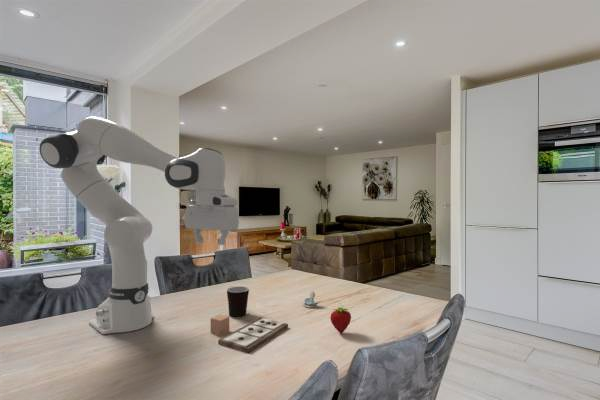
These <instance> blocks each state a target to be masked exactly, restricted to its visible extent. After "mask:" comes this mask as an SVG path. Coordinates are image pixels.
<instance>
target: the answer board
mask: <svg viewBox="0 0 600 400" xmlns="http://www.w3.org/2000/svg"><path fill="white" fill-rule="evenodd" d="M288 328H289V324H288V323H286V322H282V321H278V320H273V319H269V318H264V317H259V318H257V319H255V320H253V321H252V322H250V323H248V324H246V325H244V326H242V327H240V328H238V329H237V330H235V331H233V332H231V333H228V334H226V335H225V336H223V337H221V338H219V339H218V345H220V346H221V345H222V346H224V347H228V348H231V349H235V350H237V351H241V352H244V353H246V354H249V353H251V352H253V351H255V350H256V349H257V348H258V347H259V348H260V346H263V344H265V343H266V342H268V341H270V340H271V339H272V338H274V337H275V336H277V335H279V334H280V333H282V332H283V331H285V330H287V329H288Z"/></svg>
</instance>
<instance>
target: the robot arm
mask: <svg viewBox="0 0 600 400" xmlns="http://www.w3.org/2000/svg"><path fill="white" fill-rule="evenodd" d="M39 154H40V156H41V159H42V160H43V162H45V163H46V165H48V166H49V167H51V168H53V169H62V170H61V173H60V176H61V179H62V181H63V183H64V184H65V187H67V189H68V190H69V192H70V194H72V195H73V196H74V198H75V199H76V200H77V201H78V202H79V203H80V204H81V205H82V207H84V208H85V209H86V210H87V212H88V213H89V214H90V215H91V216H92V217H93V218H95V219H96V220H98V221H100V222H102V223H103V224H104V225H106V227H105V228H104V230H103V231H104V232H103V238H104V241H105V242H106V244H107V246H108V250H109V251H108V252H109V255H110V260H111V271H112V273H111V277H112V278H111V284H112V285H111V286H109V287H108V289H107V290H108V291H109V292H108V297H107V298H106V299H105V300H104V301H103V302H102V303H101V304H99V305H98V306H97V309H96V312H95V316H96V317H94V318H92V319H90V320H89V321H88V324H89V325H90V326H91V327H92V328H94V329H95V330H96V331H97V332H99V333H100V334H102V335H106V334H107V335H108V334H117V333H128V332H134V331H137V330H141V329H143V328H145V327H148V326H149V325H150V324H151V323H152V319H154V318H155V315H154V313H152V303H151V301H152V300H151V297H150V295H148V294H149V289H150V287H149V283H148V261H147V258H146V253H145V248H144V242H147V241H148V239H150V237H151V235H152V233H153V224H152V223H151V221H150V220H149V219H148V218H147V217H145V216H144V215H143V214H142V213H141V212H140V211H139V210H138V209H136V207H134V206H133V205H132V204H131V203H129V202H128V201H127V200H126V199H125V198H124V197H123V196H122V195H121V194H120V193H119V192H118V191H117V190H116V189H115V187H114V186H112V185H111V184H110V182H109V181H108V180H107V179H106V178H105V177H104V175H102V174H101V173H100V171H99V170H98V167H97V165H102V164H103V163H104V162H105V160H106V158H109V159H111V160H115V161H119V162H121V163H127V164H133V165H138V166H145V167H151V168H154V169H157V170H159V171H161V172H164V178H165V180H166V182H167V183H168V185H170V186H171V187H173V188H175V189H177V190H178V189H180V190H186V191H187V190H188V191H191V192H192V191H193V192H195V199H190V200H189V201H188V202H187V204H186V208H185V212H184V213H185V214H184V226H185V228H187V229H192V232H193V235H194V237H195V243H196V244H197V243H198V244H202V243H203V242H204V236H202V235H201V232H202V230H211V231H212V230H215V231H216V230H217V231H219V233H220V237H219V238H218V239H217V245H218V246H219V245H220V246H224V245H226V239H227V237H228V234H229V231H230V232H231V231H236V230H237V229H238V227H239V210H238V208H237V206H238V203H239V202H238V199H237V198H236V197H233V196H231V195H228V194H227V193H226V189H225V188H226V187H225V185H224V184H225V179H226V164H225V162H226V161H225V157H224V155H223V153H222V152H221V151H219V150H217V149H213V148H210V147H200V148H198V149H197V150H195V151H194V152H192V153H191V154H188V155H185V156H182V157H179V158H178V157H177V156H174V155H172V154H169V153H167V152H165V151H163V150H162V149H160V148H158V147H157V146H155V145H153V144H152V143H151V142H148V141H147V140H146V139H144V138H143V137H141V136H140V135H138V134H137V133H136V132H134V131H132V130H131V129H129V128H127V127H124V126H123V125H121V124H119V123H116V122H113V121H111V120H108V119H105V118H102V117H97V116H88V117H86V118H84V119H82V120H81V121H80V123H79V124H78V126H77V130H72V131H68V132H64V133H57V134H52V135H50V136H47V137H45V138H43V139H42V140H41V142H40V143H39Z"/></svg>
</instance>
